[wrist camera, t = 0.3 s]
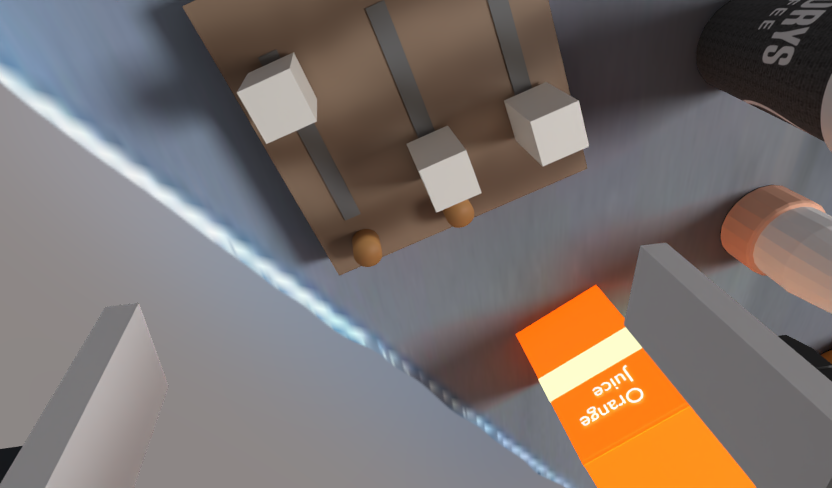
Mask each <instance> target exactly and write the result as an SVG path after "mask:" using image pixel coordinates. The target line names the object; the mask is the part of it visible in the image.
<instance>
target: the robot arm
mask: <svg viewBox="0 0 832 488" xmlns="http://www.w3.org/2000/svg"><path fill="white" fill-rule="evenodd" d="M624 326H625V327H626V328H627V329H628V331H629V332H630V333H631V334H632V336H633V337H634V338H635V339H636V340H637V342H638V343H639V344H640V345H641V347H642V348H643V349H644V350H645V351H646V353H647V354H648V355H649V356H650V358H651V359H652V360H653V361H654V362H655V364H656V365H657V366H658V367H659V369H660V370H661V371H662V372H663V373H664V375H665V376H666V377H667V378H668V380H669V381H670V382H671V383H672V384H673V386H674V387H675V388H676V389H677V391H678V392H679V393H680V394H681V395H682V397H683V398H684V399H685V400H686V402H687V403H688V404H689V405H690V406H691V408H692V409H693V410H694V411H695V413H696V414H697V415H698V416H699V417H700V419H701V420H702V421H703V422H704V424H705V425H706V426H707V427H708V428H709V430H710V431H711V432H712V433H713V435H714V436H715V437H716V438H717V439H718V441H719V442H720V443H721V444H722V446H723V447H724V448H725V449H726V450H727V452H728V453H729V454H730V455H731V457H732V458H733V459H734V460H735V461H736V463H737V464H738V465H739V466H740V468H741V469H742V470H743V471H744V472H745V474H746V475H747V476H748V477H749V479H750V480H751V481H752V482H753V484H754V485H755V486H756V487H757V488H832V364H831V363H830V362H829V361H827V360H826V359H825V358H824V357H822V356H821V355H820V354H819V353H817V352H816V351H815V350H814V349H812V348H811V347H809V346H807V345H805V344H803V343H801V342H799V341H797V340H795V339H793V338H791V337H789V336H787V335H782V336H777V335H776V334H774V333H773V332H772V331H771V330H770V329H769V328H767V327H766V326H765V325H764V324H763V323H761V322H760V321H759V320H758V319H757V318H755V317H754V316H753V315H752V314H751V313H749V312H748V311H747V310H746V309H745V308H743V307H742V306H741V305H740V304H739V303H738V302H736V301H735V300H734V299H733V298H732V297H730V296H729V295H728V294H727V293H726V292H724V291H723V290H722V289H721V288H720V287H718V286H717V285H716V284H715V283H714V282H712V281H711V280H710V279H709V278H708V277H707V276H705V275H704V274H703V273H702V272H701V271H699V270H698V269H697V268H696V267H695V266H693V265H692V264H691V263H690V262H689V261H687V260H686V259H685V258H684V257H683V256H681V255H680V254H679V253H678V252H677V251H676V250H674V249H673V248H672V247H671V246H670V245H668V244H667V243H658V244H650V245H641V246H640V250H639V254H638V259H637V264H636V269H635V274H634V278H633V283H632V288H631V293H630V297H629V302H628V307H627V312H626V316H625V321H624ZM167 390H168V383H167V380H166V378H165V375H164V372H163V369H162V366H161V364H160V361H159V358H158V355H157V352H156V350H155V347H154V344H153V341H152V339H151V336H150V333H149V330H148V327H147V325H146V322H145V319H144V316H143V314H142V311H141V308H140V305H139V303H135V304H128V305H119V306H110V307H105V308H104V310H103V312H102V314H101V315H100V317H99V319H98V320H97V322H96V324H95V325H94V327H93V329H92V330H91V332H90V334H89V335H88V337H87V339H86V341H85V342H84V344H83V346H82V347H81V349H80V350H79V352H78V354H77V356H76V357H75V359H74V361H73V362H72V364H71V366H70V367H69V369H68V371H67V373H66V374H65V376H64V377H63V379H62V381H61V383H60V384H59V386H58V388H57V389H56V391H55V393H54V394H53V396H52V398H51V399H50V401H49V403H48V404H47V406H46V408H45V409H44V411H43V413H42V414H41V416H40V418H39V419H38V421H37V423H36V425H35V426H34V428H33V430H32V431H31V433H30V435H29V436H28V438H27V440H26V441H25V443H24V445H23V446H19V447H12V448H5V449H0V488H134V486H135V483H136V480H137V477H138V474H139V472H140V468H141V466H142V463H143V460H144V457H145V454H146V451H147V448H148V445H149V442H150V439H151V436H152V433H153V431H154V428H155V425H156V422H157V419H158V416H159V413H160V410H161V407H162V404H163V401H164V398H165V395H166V392H167Z"/></svg>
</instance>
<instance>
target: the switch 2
mask: <svg viewBox="0 0 832 488" xmlns="http://www.w3.org/2000/svg"><path fill="white" fill-rule="evenodd" d="M407 147H408V149H409V151H410V154H411V156H412V158H413V161H414V163H415V165H416V168H417V170H418V172H419V175H420V177H421V180H422V182H423V184H424V186H425V188H426V191H427V193H428V195H429V197H430V199H431V202H432V204H433V206H434V208H435V210H436V213H437V212H439V211H442V210H444V209H446V208H449V207H451V206H453V205H455V204H458V203H460V202H462V201H465V200H467V199H469V198H472V197H474V196H476V195H478V194H481V193H482V192H481V189H480V187H479V184H478V181H477V178H476V176H475V173H474V170H473V167H472V165H471V162H470V159H469V156H468V154H467V151H466V149H465V148H464V146H463V145H462V144H461V142H460V141H459V140H458V138H457V137H456V136H455V134H454V133H453V132H452V130H451V129H450V128H449V126H445V127H443V128H441V129H439V130H436V131H434V132H432V133H429V134H427V135H425V136H423V137H420V138H418V139H416V140H414V141H411V142H409V143H407Z"/></svg>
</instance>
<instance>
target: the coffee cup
mask: <svg viewBox="0 0 832 488" xmlns="http://www.w3.org/2000/svg"><path fill="white" fill-rule="evenodd" d="M697 66H698V69H699V72H700V74H701V76H702V77H703V79H704V80H705V81H706V82H708V83H709V84H711V85H712V86H714V87H716V88H718V89H720V90H722V91H724V92H726V93H728V94H731V95H733V96H735V97H737V98H739V99H741V100H743V101H745V102H747V103H749V104H751V105H753V106H755V107H757V108H759V109H761V110H763V111H765V112H767V113H769V114H771V115H773V116H775V117H777V118H779V119H781V120H783V121H785V122H787V123H789V124H791V125H793V126H795V127H797V128H799V129H801V130H803V131H805V132H807V133H809V134H811V135H813V136H815V137H817V138H819V139H821V140H822V141H824V142H825V143H826V145H827V147H828V148H829V150H830V151H831V152H832V0H732V1H730V2H729V3H727V4H726V5H724V6H723V7H722V8H720V9H719V10H718V11H717V12H716V13H715V14H714V16H713V17H712V18H711V19H710V21H709V22H708V23H707V25H706V27H705V28H704V30H703V32H702V35H701V37H700V40H699V43H698V48H697Z"/></svg>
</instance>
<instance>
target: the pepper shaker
mask: <svg viewBox="0 0 832 488" xmlns="http://www.w3.org/2000/svg"><path fill="white" fill-rule="evenodd" d="M720 237H721V242H722V246H723V247H724V248H725V250H726V251H727V252H728V253H729V254H730V255H732V256H733V257H735V258H736V259H737V260H739V261H740V262H741V263H743V264H744V265H745V266H747V267H748V268H750V269H751V270H752V271H754V272H756V273H758V274H761V275H766V276H768V277H770V278H771V279H772V280H774V281H775V282H776V283H777V284H779V285H780V286H781V287H783V288H784V289H785V290H787V291H788V292H789V293H791V294H793V295H795V296H797V297H799V298H801V299H803V300H805V301H807V302H809V303H811V304H813V305H815V306H817V307H819V308H821V309H823V310H825V311H827V312H829V313H831V314H832V216H830V215H828V214H826V213H825V211H824V209H823V208H822V206H820V205H819V204H817V203H815V202H813V201H811V200H809V199H807V198H805V197H803V196H801V195H799V194H797V193H795V192H793V191H791V190H789V189H787V188H785V187H783V186H777V185H770V186H765V187H761V188H758V189H756V190H754V191H752V192H750V193H748V194H747V195H745V196H744V197H743V198H742V199H741V200H739V201H738V202H737V203H736V204H735V205H734V206H733V208H732V209H731V210H730V212H729V213H728V214H727V216H726V218H725V220H724V223H723V225H722V229H721V236H720Z"/></svg>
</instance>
